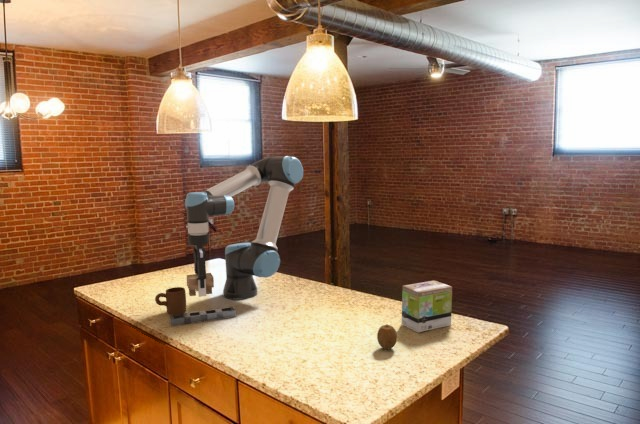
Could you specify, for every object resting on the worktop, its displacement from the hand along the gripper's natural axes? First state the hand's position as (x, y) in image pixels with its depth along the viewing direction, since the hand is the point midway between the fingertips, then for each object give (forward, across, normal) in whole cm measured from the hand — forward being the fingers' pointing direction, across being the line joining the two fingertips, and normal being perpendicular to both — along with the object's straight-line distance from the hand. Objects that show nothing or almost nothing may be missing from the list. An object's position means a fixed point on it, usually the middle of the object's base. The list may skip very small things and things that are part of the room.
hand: (201, 293), depth 179 cm
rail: (+10, 0, 0) cm, 10 cm away
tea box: (+10, +41, +73) cm, 85 cm away
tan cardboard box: (0, 0, 0) cm, 0 cm away
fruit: (+10, +53, +50) cm, 74 cm away
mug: (+11, -13, -10) cm, 20 cm away
